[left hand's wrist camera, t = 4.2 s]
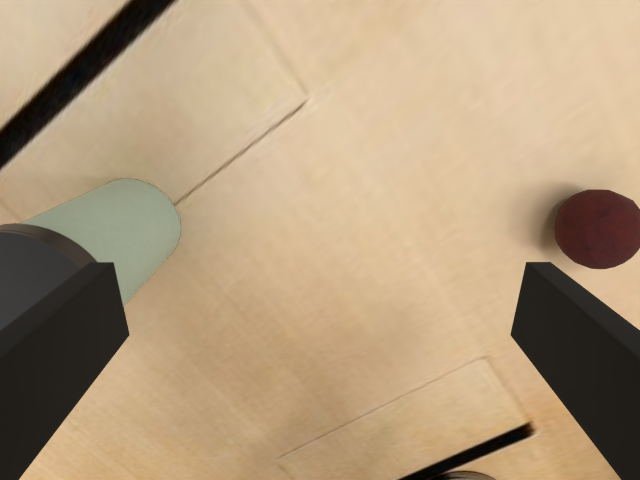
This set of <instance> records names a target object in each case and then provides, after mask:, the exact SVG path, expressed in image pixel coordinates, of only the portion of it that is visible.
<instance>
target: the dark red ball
mask: <svg viewBox="0 0 640 480" xmlns="http://www.w3.org/2000/svg"><path fill="white" fill-rule="evenodd" d="M555 238H556V241H557V243H558V245H559V247H560V248H561V250H562V251H563V253H565V254H566V255H567V256H568V257H569V258H570V259H571V260H573V261H574V262H575V263H578V264H580V265H583V266H586V267H588V268H591V269H607V268H612V267H616V266H618V265H620V264H623V263H624V262H626V261H627V260H629V259H630V258H632V257H633V256H634V255H635V253H636V252H637V251H638V250H639V248H640V209H639V208H638V206H637V205H636V204H635V202H634V201H633V200H631V199H629V198H627V197H625V196H623V195H620V194H617V193H615V192H612V191H610V190H586V191H583V192H580V193H577V194H575V195H573V196H572V197H571V198H569V199H568V200H567V201H566V202H565V203H564V204H563V206H562V207H561V209H560V210H559V213H558V217H557V220H556V224H555Z"/></svg>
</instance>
